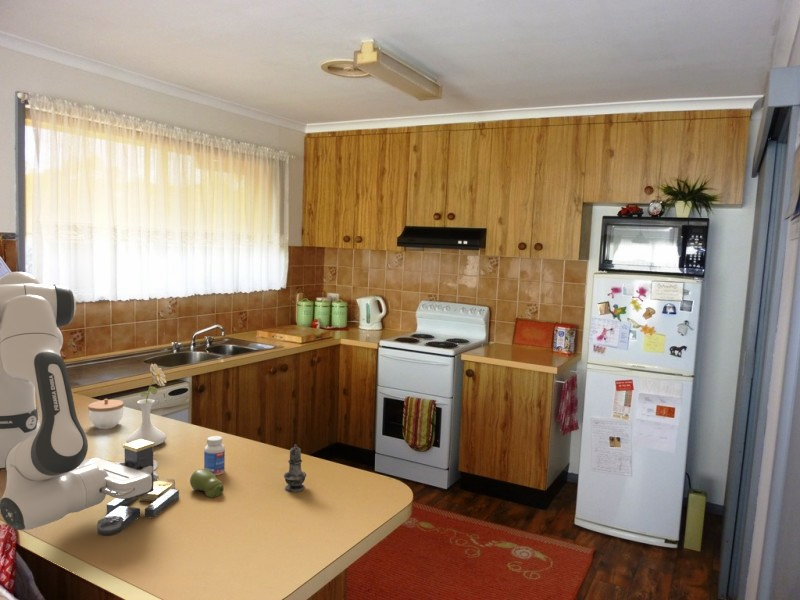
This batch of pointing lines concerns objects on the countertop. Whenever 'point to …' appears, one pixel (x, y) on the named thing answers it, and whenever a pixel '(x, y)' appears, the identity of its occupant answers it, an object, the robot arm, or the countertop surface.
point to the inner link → (159, 489)
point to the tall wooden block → (139, 456)
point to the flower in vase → (147, 428)
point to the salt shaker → (295, 472)
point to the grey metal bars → (131, 512)
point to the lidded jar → (106, 413)
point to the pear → (206, 483)
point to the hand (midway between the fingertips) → (142, 466)
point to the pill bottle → (214, 455)
